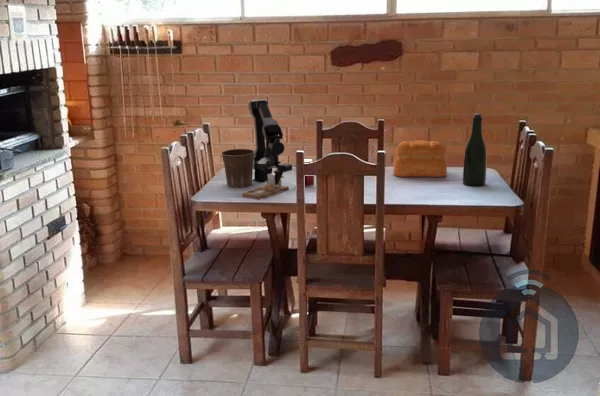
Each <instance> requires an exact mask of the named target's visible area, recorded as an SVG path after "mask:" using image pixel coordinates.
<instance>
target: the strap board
mask: <svg viewBox="0 0 600 396" xmlns="http://www.w3.org/2000/svg"><path fill="white" fill-rule="evenodd" d="M265 186H268V184H267V185H264V186H261V187H258V188H253V189H251V190H248V191H245V192H242V197H244V198H249V199H255V200H262V199H266V198H268V197H271V196H273V195H277V194H280V193H282V192H285V191H288V190H290V189H289V187H290V186H289V185H282V184H281V186H279V187H276V188H272V187H270V188H267V189H263V187H265Z"/></svg>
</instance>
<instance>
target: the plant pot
mask: <svg viewBox="0 0 600 396" xmlns="http://www.w3.org/2000/svg"><path fill="white" fill-rule="evenodd" d="M254 153H255V150H254V149H248V148H247V149H246V148H233V149H232V148H231V149H226V150H223V151H221V152H220V155H221V158H222V161H223V166H224V170H225V171H224V172H225V179H226V185H227V187H230V188H242V187H244V188H247V187H249V186H252V185H253V174H254V172H253V170H254V169H253V160H254Z"/></svg>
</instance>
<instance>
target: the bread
mask: <svg viewBox="0 0 600 396" xmlns="http://www.w3.org/2000/svg"><path fill="white" fill-rule="evenodd" d="M445 152H446V151H445V148H444V146H443V145H442V143H440V142H439V141H438V140H431V141H429V140H424V139H423V140H420V139H419V140H418V139H417V140H411V141H407V140H404V141H401V142H400V143H399V144H398V145H397V147H396V150H395V153H396V154H395V155H396V156H395V158H394V160H393V169H392V171H393V175H394V176H397V177H398V178H399V177H401V178H402V177H405V178H411V177H416V178H422V177H423V178H424V177H425V178H426V177H427V178H428V177H429V178H431V177H433V178H434V177H435V178H436V177H437V178H439V177H442V178H443V177H446V176H447V171H448V170H447V169H448V167H447V162H446V159H445V154H446V153H445Z"/></svg>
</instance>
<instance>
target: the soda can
mask: <svg viewBox="0 0 600 396" xmlns="http://www.w3.org/2000/svg"><path fill="white" fill-rule="evenodd" d="M310 162H314V159H310V158H304V163H310ZM314 163H315V162H314ZM314 185H315V175H314V176H305V188H307V187H313V186H314Z"/></svg>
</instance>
